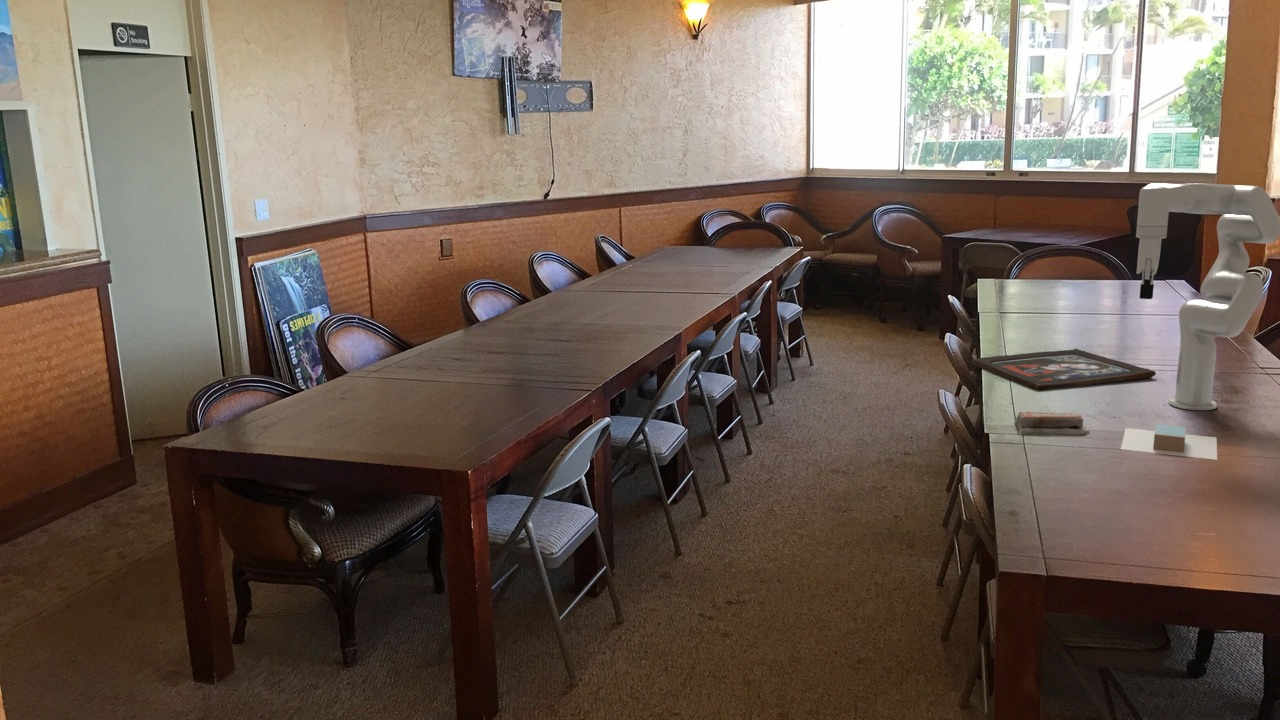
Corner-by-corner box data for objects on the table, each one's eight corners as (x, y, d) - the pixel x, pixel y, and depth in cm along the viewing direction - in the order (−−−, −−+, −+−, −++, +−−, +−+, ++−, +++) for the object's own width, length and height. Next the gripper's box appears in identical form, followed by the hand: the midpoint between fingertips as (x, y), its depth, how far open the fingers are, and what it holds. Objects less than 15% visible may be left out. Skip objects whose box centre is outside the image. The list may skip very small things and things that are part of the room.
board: (1125, 429, 284) (1125, 428, 284) (1216, 438, 274) (1216, 437, 274) (1120, 450, 267) (1120, 449, 267) (1217, 461, 257) (1217, 459, 257)
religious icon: (1159, 379, 335) (1160, 370, 335) (1038, 393, 325) (1038, 384, 324) (1079, 354, 374) (1079, 346, 373) (968, 366, 363) (969, 358, 362)
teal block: (1156, 424, 274) (1154, 434, 265) (1185, 427, 270) (1185, 437, 262) (1154, 438, 275) (1153, 449, 266) (1184, 441, 271) (1183, 452, 263)
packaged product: (1021, 418, 283) (1014, 408, 292) (1020, 435, 284) (1013, 424, 293) (1090, 419, 280) (1081, 409, 289) (1089, 436, 281) (1080, 425, 290)
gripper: (1137, 228, 289) (1132, 293, 293) (1134, 234, 276) (1129, 302, 280) (1167, 229, 285) (1162, 294, 289) (1166, 235, 272) (1160, 303, 276)
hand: (1146, 298), depth 285 cm, fingers closed
